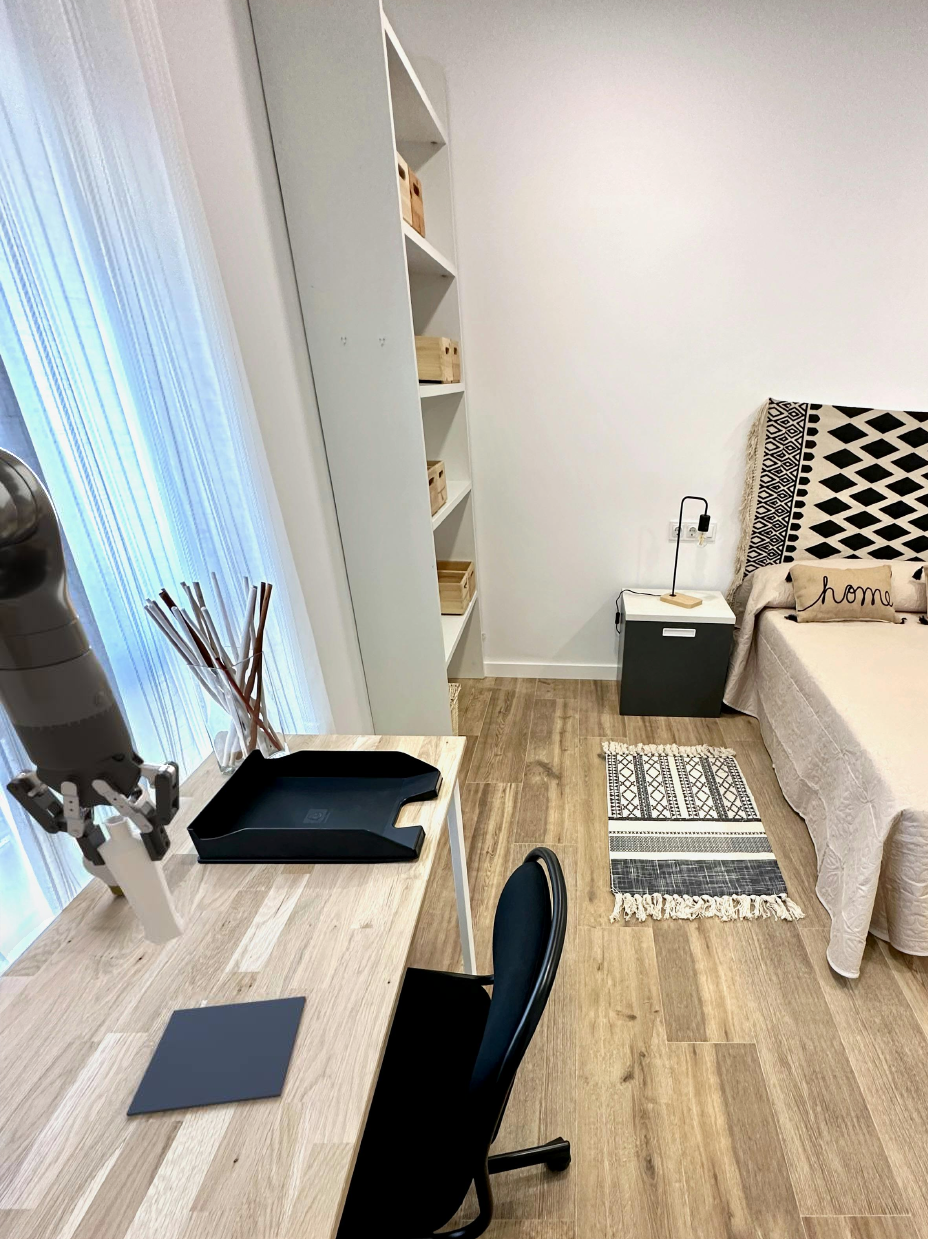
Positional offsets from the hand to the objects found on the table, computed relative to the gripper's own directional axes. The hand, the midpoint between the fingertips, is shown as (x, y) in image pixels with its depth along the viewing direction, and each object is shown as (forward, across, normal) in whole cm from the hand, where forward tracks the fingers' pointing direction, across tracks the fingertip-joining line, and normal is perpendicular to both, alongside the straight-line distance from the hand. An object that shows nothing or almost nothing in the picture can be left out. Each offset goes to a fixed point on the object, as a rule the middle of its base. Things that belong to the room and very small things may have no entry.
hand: (131, 857), depth 65 cm
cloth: (+28, -2, +2) cm, 28 cm away
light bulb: (+28, +22, -30) cm, 47 cm away
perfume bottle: (+11, 0, 0) cm, 11 cm away
